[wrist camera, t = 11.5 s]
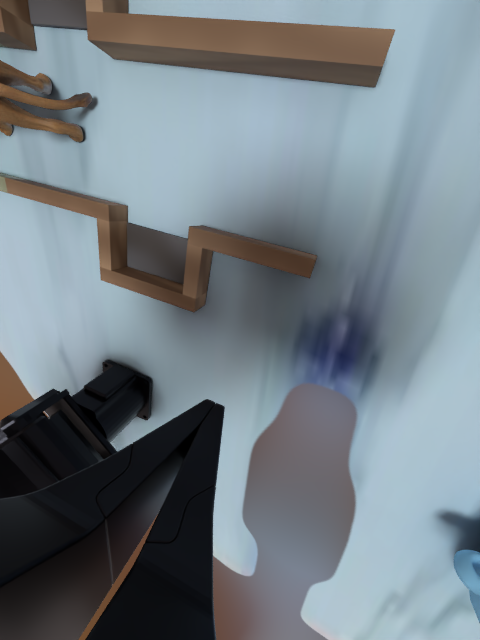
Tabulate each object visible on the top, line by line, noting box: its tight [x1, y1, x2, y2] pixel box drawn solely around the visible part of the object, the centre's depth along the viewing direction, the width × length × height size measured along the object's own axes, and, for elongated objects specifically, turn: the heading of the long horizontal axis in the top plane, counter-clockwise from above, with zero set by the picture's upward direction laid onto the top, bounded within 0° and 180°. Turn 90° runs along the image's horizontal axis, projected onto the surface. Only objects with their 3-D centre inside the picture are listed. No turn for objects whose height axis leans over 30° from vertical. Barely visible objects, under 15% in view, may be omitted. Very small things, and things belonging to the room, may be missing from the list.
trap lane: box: [0, 0, 395, 312], centre depth 18 cm, size 22×36×2 cm, turn 78°
